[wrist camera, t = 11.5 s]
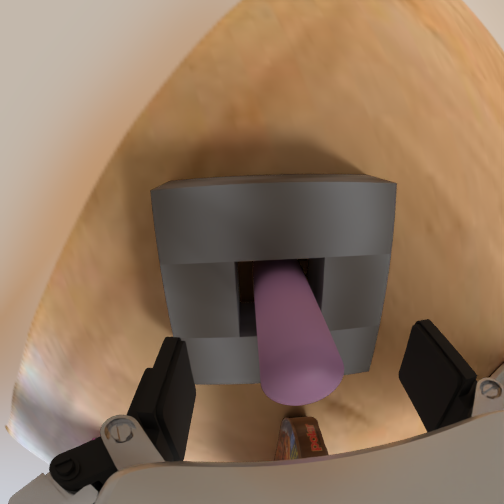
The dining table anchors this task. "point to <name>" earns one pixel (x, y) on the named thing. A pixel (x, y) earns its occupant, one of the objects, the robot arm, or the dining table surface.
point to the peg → (292, 336)
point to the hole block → (272, 248)
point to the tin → (300, 439)
